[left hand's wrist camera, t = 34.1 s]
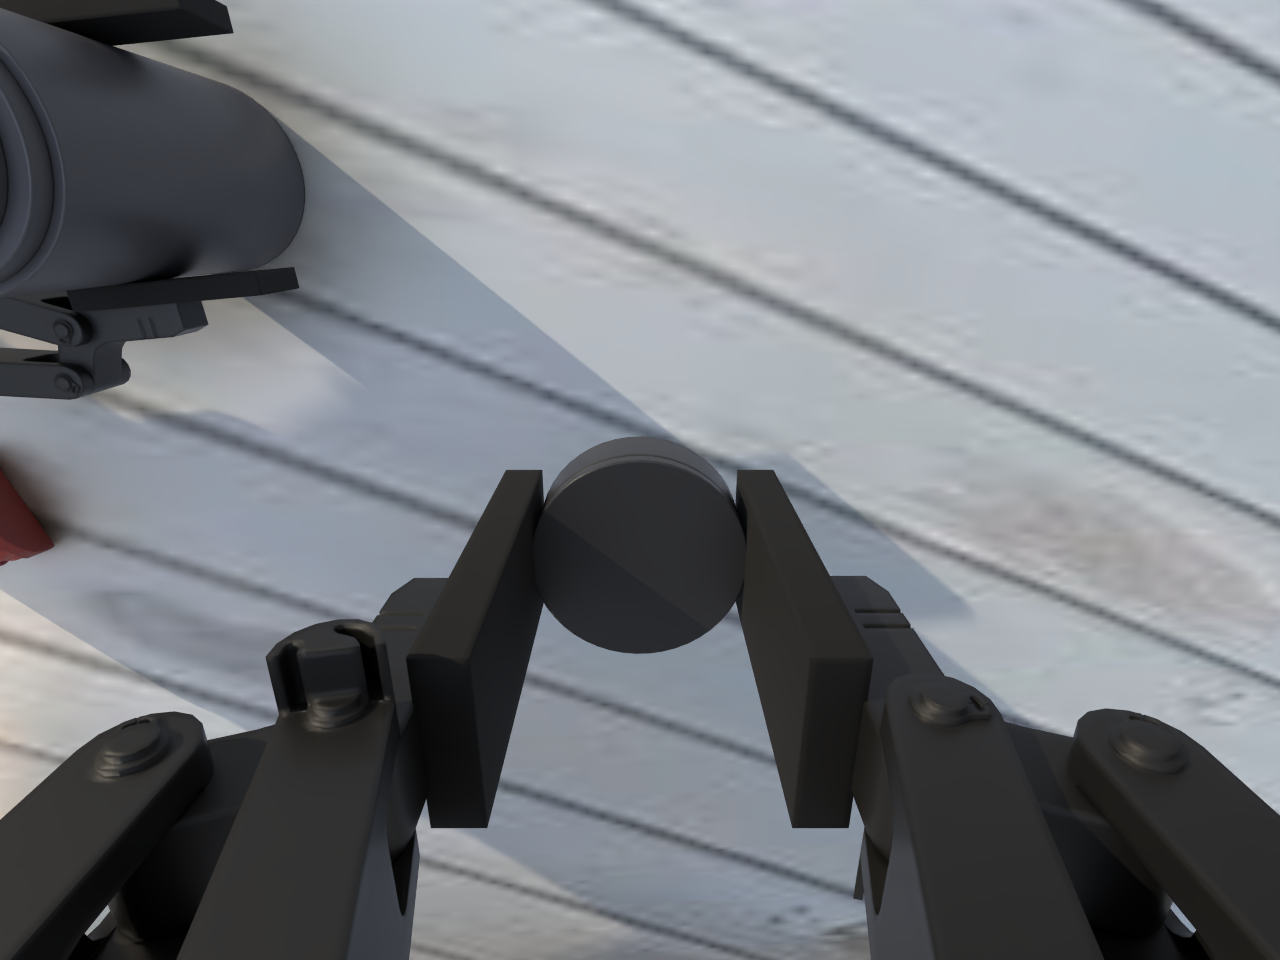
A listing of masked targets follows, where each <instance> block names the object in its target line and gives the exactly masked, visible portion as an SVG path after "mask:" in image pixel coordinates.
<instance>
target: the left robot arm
mask: <svg viewBox="0 0 1280 960" xmlns="http://www.w3.org/2000/svg"><path fill="white" fill-rule="evenodd" d="M543 505H544V495H543V477H542V470H506V471H505V473H504V475H503V477H502V479H501V481H500V483H499V485H498V486H497V488H496V490H495V492H494V494H493V496H492V498H491V500H490V501H489V503H488V505H487V507H486V509H485V511H484V513H483V515H482V516H481V518H480V520H479V522H478V524H477V526H476V528H475V530H474V531H473V533H472V535H471V537H470V539H469V541H468V543H467V545H466V546H465V548H464V550H463V552H462V554H461V556H460V558H459V560H458V561H457V563H456V565H455V567H454V569H453V571H452V573H451V575H450V576H449V578H414V579H412V580H411V581H409V582H408V583H406V584H405V585H403V586H402V587H401V588H399V589H398V590H396V591H395V592H393V593H392V594H391V595H390V597H389V598H388V600H387V601H386V603H385V604H384V606H383V607H382V609H381V610H380V614H379V615H377V616H376V618H375V619H374V621H373V622H372V623H370V622H366V621H362V620H359V619H353V620H333V621H329V622H324V623H319V624H315V625H312V626H309V627H307V628H304V629H302V630H299V631H297V632H294V633H293V634H291V635H290V636H288V637H286V638H285V639H283V640H282V641H280V642H279V643H277V644H276V645H275V646H274V648H273V649H272V650H271V651H270V652H269V653H268V655H267V656H266V661H267V665H268V670H269V674H270V678H271V682H272V686H273V691H274V695H275V699H276V703H277V707H278V712H279V717H278V719H277V721H276V724H275V725H272V726H268V727H264V728H261V729H257V730H253V731H249V732H244V733H239V734H235V735H230V736H225V737H221V738H216V739H211V740H207V738H206V735H205V731H204V728H203V724H202V723H201V722H200V721H199V720H198V719H197V718H195V717H194V716H193V715H191V714H185V713H180V712H165V713H155V714H149V715H146V716H141V717H139V718H134V719H131V720H128V721H125V722H123V723H121V724H119V725H117V726H115V727H113V728H111V729H109V730H107V731H105V732H103V733H101V734H99V735H97V736H96V737H95V738H93V739H92V740H91V741H89V742H88V743H86V744H85V745H84V746H82V747H81V748H80V749H78V750H77V751H76V752H75V753H74V754H72V755H71V756H70V757H69V758H68V759H67V760H66V761H65V762H64V763H63V764H61V765H60V766H59V767H58V768H57V769H56V770H55V771H54V772H53V773H51V774H50V775H49V776H48V777H47V778H46V779H45V780H44V781H43V782H42V783H40V784H39V785H38V786H37V787H36V788H35V789H34V790H33V791H32V792H30V793H29V794H28V795H27V796H26V797H25V798H24V799H23V800H22V801H21V802H19V803H18V804H17V805H16V806H15V807H14V808H13V809H12V810H11V811H10V812H8V813H7V814H6V815H5V816H4V817H3V818H2V819H1V820H0V960H409V954H410V945H411V935H412V926H413V916H414V907H415V897H416V888H417V878H418V869H419V859H420V854H419V847H418V840H417V834H416V825H417V823H418V820H419V817H420V815H421V812H422V809H423V806H424V804H425V801H426V798H427V805H428V812H429V818H430V825H431V828H487V827H488V823H489V819H490V815H491V811H492V807H493V803H494V799H495V795H496V791H497V787H498V783H499V779H500V775H501V771H502V767H503V763H504V759H505V755H506V751H507V747H508V743H509V739H510V735H511V731H512V727H513V723H514V719H515V715H516V711H517V707H518V703H519V699H520V695H521V691H522V687H523V683H524V679H525V675H526V671H527V667H528V663H529V659H530V655H531V651H532V647H533V643H534V639H535V635H536V631H537V627H538V623H539V619H540V615H541V611H542V607H543V603H544V602H543V600H542V598H541V597H540V595H539V592H538V590H537V587H536V582H535V567H534V551H533V535H534V531H535V529H536V526H537V523H538V520H539V517H540V514H541V511H542V508H543ZM735 506H736V509H737V512H738V515H739V518H740V521H741V524H742V527H743V530H744V534H745V537H746V561H745V576H744V583H743V586H742V589H741V591H740V593H739V595H738V597H737V600H736V605H737V609H738V613H739V617H740V621H741V625H742V629H743V633H744V637H745V641H746V645H747V649H748V653H749V657H750V661H751V665H752V669H753V673H754V677H755V681H756V685H757V689H758V693H759V697H760V701H761V705H762V709H763V713H764V717H765V721H766V725H767V729H768V732H769V736H770V740H771V744H772V748H773V752H774V756H775V760H776V764H777V768H778V772H779V776H780V780H781V784H782V788H783V792H784V796H785V800H786V804H787V808H788V812H789V816H790V820H791V824H792V828H849V822H850V815H851V809H852V802H853V796H854V799H855V802H856V804H857V807H858V810H859V812H860V815H861V818H862V820H863V823H864V826H865V827H864V834H863V840H862V846H861V853H860V859H859V865H858V871H857V878H856V884H855V891H854V899H859V900H862V899H863V894H864V896H865V905H866V915H867V924H868V934H869V943H870V953H871V960H1280V815H1278V814H1277V813H1276V812H1275V811H1274V810H1273V809H1272V808H1271V807H1270V806H1268V805H1267V804H1266V803H1265V802H1264V801H1263V800H1262V799H1261V798H1260V797H1258V796H1257V795H1256V794H1255V793H1254V792H1253V791H1252V790H1251V789H1250V788H1248V787H1247V786H1246V785H1245V784H1244V783H1243V782H1242V781H1241V780H1240V779H1238V778H1237V777H1236V776H1235V775H1234V774H1233V773H1232V772H1231V771H1229V770H1228V769H1227V768H1226V767H1225V766H1224V765H1223V764H1222V763H1221V762H1219V761H1218V760H1217V759H1216V758H1215V757H1214V756H1213V755H1212V754H1211V753H1209V752H1208V751H1207V750H1206V749H1205V748H1204V747H1203V746H1201V745H1200V744H1198V743H1197V742H1196V741H1194V740H1193V739H1192V738H1190V737H1189V736H1187V735H1186V734H1185V733H1183V732H1182V731H1180V730H1178V729H1176V728H1174V727H1172V726H1170V725H1168V724H1165V723H1163V722H1161V721H1160V720H1158V719H1155V718H1152V717H1149V716H1147V715H1141V714H1140V713H1135V712H1131V711H1126V710H1116V709H1100V710H1095V711H1089V712H1087V713H1086V714H1085V715H1084V716H1083V717H1081V718H1080V719H1079V720H1078V722H1077V726H1076V729H1075V733H1074V736H1073V737H1068V736H1063V735H1059V734H1054V733H1049V732H1045V731H1040V730H1035V729H1031V728H1026V727H1022V726H1018V725H1015V724H1011V723H1008V722H1005V721H1004V720H1003V718H1002V715H1001V714H1000V712H999V711H998V709H997V708H996V706H995V705H994V704H993V702H992V701H991V700H990V699H989V698H988V697H986V696H985V695H984V694H982V693H981V692H980V691H978V690H977V689H976V688H974V687H972V686H970V685H968V684H966V683H963V682H961V681H959V680H957V679H954V678H951V677H947V676H944V674H943V673H942V671H941V670H940V668H939V667H938V665H937V664H936V662H935V661H934V659H933V658H932V656H931V655H930V653H929V652H928V650H927V649H926V647H925V646H924V644H923V643H922V641H921V640H920V638H919V637H918V635H917V634H916V632H915V631H914V629H913V628H911V627H910V623H909V622H908V620H907V619H906V617H905V616H904V614H903V613H900V608H899V607H898V605H897V604H896V602H895V601H894V599H893V598H892V596H891V595H890V593H889V592H888V591H887V590H885V589H884V588H882V587H881V586H880V585H878V584H877V583H875V582H874V581H872V580H871V579H869V578H868V577H867V576H830V575H829V574H828V572H827V570H826V568H825V566H824V564H823V562H822V560H821V559H820V557H819V555H818V553H817V551H816V549H815V547H814V545H813V544H812V542H811V540H810V538H809V536H808V534H807V532H806V530H805V529H804V527H803V525H802V523H801V521H800V519H799V517H798V515H797V514H796V512H795V510H794V508H793V506H792V504H791V502H790V500H789V498H788V497H787V495H786V493H785V491H784V489H783V487H782V485H781V483H780V482H779V480H778V478H777V476H776V474H775V472H774V470H737V487H736V505H735ZM1172 902H1174V903H1175V904H1176V905H1177V907H1178V908H1179V909H1180V910H1181V912H1182V913H1183V914H1184V915H1185V916H1186V918H1187V919H1188V920H1189V921H1190V923H1191V924H1192V925H1193V926H1194V927H1195V929H1196V931H1195V933H1193V932H1191V931H1190V930H1189V929H1188V928H1187V927H1186V926H1185V925H1184V924H1183V923H1182V922H1181V921H1180V920H1179V919H1178V917H1177V916H1176V915H1175V914H1174V912H1173V911H1172V910H1171V909H1170V907H1171V905H1172ZM107 905H108V906H109V909H110V912H109V913H108V914H107V916H106V917H105V918H104V919H103V921H102V922H101V923H100V924H99V925H98V926H97V927H96V928H95V929H94V930H93V931H92V932H91V933H90V934H89V935H88V936H87V935H85V932H86V931H87V929H88V928H89V927H90V926H91V925H92V923H93V922H94V921H95V920H96V918H97V917H98V916H99V915H100V913H101V912H102V911H103V910H104V909H105V907H106V906H107Z"/></svg>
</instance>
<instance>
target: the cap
mask: <svg viewBox="0 0 1280 960" xmlns="http://www.w3.org/2000/svg"><path fill="white" fill-rule="evenodd" d="M533 551H534V567H535V582H536V587H537V590H538V592H539V595H540V597H541V598H542V600H543V602H544V603H545V605H546V607H547V608H548V609H549V611H550V612H551V613H552V615H553V616H554V617H555V618H556V619H557V620H558V621H559V622H560V623H561V624H562V625H563V626H564V627H565V628H567V629H568V630H569V631H571V632H572V633H573V634H575V635H576V636H578V637H580V638H581V639H583V640H585V641H587V642H589V643H591V644H594V645H596V646H599V647H602V648H605V649H608V650H612V651H618V652H623V653H635V654H640V653H655V652H662V651H666V650H670V649H674V648H677V647H680V646H682V645H685V644H688V643H690V642H692V641H694V640H695V639H697V638H699V637H701V636H702V635H704V634H705V633H707V632H708V631H710V630H711V629H712V628H713V627H714V626H715V625H717V624H718V623H719V622H720V621H721V620H722V619H723V618H724V616H725V615H726V614H727V613H728V612H729V610H730V609H731V607H732V606H733V604H734V603H735V601H736V600H737V597H738V595H739V593H740V591H741V589H742V586H743V583H744V576H745V561H746V537H745V534H744V530H743V527H742V524H741V521H740V518H739V515H738V512H737V509H736V506H735V503H734V500H733V497H732V495H731V492H730V490H729V488H728V486H727V485H726V483H725V481H724V480H723V478H722V477H721V476H720V474H719V473H718V472H717V471H716V470H715V468H714V467H713V466H712V465H711V464H709V463H708V462H707V461H706V460H705V459H704V458H702V457H701V456H699V455H698V454H697V453H695V452H694V451H692V450H690V449H688V448H686V447H684V446H682V445H679V444H676V443H674V442H671V441H667V440H663V439H658V438H651V437H627V438H621V439H615V440H612V441H608V442H605V443H602V444H599V445H597V446H595V447H593V448H590V449H589V450H587V451H585V452H584V453H582V454H580V455H579V456H578V457H576V458H575V459H574V460H573V461H571V462H570V463H569V464H568V465H567V466H566V467H565V468H564V469H563V470H562V471H561V472H560V474H559V475H558V477H557V478H556V479H555V481H554V482H553V484H552V486H551V488H550V490H549V492H548V494H547V497H546V500H545V502H544V505H543V508H542V511H541V514H540V517H539V520H538V523H537V526H536V529H535V531H534V535H533Z"/></svg>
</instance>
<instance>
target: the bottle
mask: <svg viewBox="0 0 1280 960" xmlns="http://www.w3.org/2000/svg"><path fill="white" fill-rule="evenodd" d="M303 209H304V182H303V175H302V171H301V167H300V164H299V161H298V158H297V156H296V153H295V150H294V148H293V146H292V144H291V143H290V141H289V139H288V137H287V136H286V134H285V132H284V131H283V129H282V128H281V126H280V125H279V124H278V123H277V122H276V120H275V119H274V118H273V117H272V116H271V115H270V114H269V113H268V112H267V111H266V110H265V109H264V108H263V107H262V106H261V105H260V104H258V103H257V102H256V101H255V100H253V99H252V98H251V97H249V96H247V95H246V94H244V93H243V92H241V91H239V90H237V89H235V88H233V87H231V86H228V85H225V84H222V83H219V82H217V81H214V80H211V79H208V78H205V77H202V76H199V75H196V74H193V73H190V72H187V71H184V70H181V69H178V68H175V67H172V66H170V65H167V64H164V63H161V62H158V61H155V60H152V59H149V58H146V57H143V56H140V55H137V54H134V53H131V52H128V51H125V50H123V49H120V48H117V47H114V46H111V45H108V44H105V43H102V42H99V41H96V40H93V39H90V38H87V37H84V36H81V35H78V34H76V33H73V32H70V31H67V30H64V29H61V28H58V27H55V26H52V25H49V24H46V23H43V22H40V21H37V20H34V19H31V18H28V17H26V16H23V15H20V14H17V13H14V12H11V11H8V10H5V9H2V8H0V298H6V297H15V296H24V295H32V294H41V293H50V292H58V291H67V290H76V289H84V288H93V287H102V286H110V285H119V284H128V283H136V282H145V281H154V280H162V279H171V278H180V277H188V276H197V275H206V274H214V273H223V272H232V271H240V270H248V269H252V268H256V267H259V266H261V265H264V264H266V263H268V262H270V261H271V260H273V259H274V258H276V257H277V256H278V255H279V254H281V253H282V252H283V251H284V250H285V249H286V248H287V246H288V245H289V244H290V243H291V241H292V239H293V238H294V236H295V234H296V232H297V230H298V228H299V225H300V222H301V219H302V215H303Z"/></svg>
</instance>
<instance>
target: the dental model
mask: <svg viewBox="0 0 1280 960" xmlns="http://www.w3.org/2000/svg"><path fill="white" fill-rule="evenodd" d="M53 547H54V544H53V542H52V541H51V539H50V538H49V536H48V535H47V534H46V532H45V531H44V529H43V528H42V527H41V525H40V524H39V522H38V521H37V520H36V518H35V517H34V515H33V514H32V512H31V511H30V510H29V508H28V507H27V505H26V504H25V503H24V501H23V500H22V498H21V497H20V496H19V494H18V493H17V492H16V490H15V489H14V487H13V486H12V485H11V483H10V482H9V481H8V479H7V478H6V477H5V475H4V474H3V473H2V471H1V470H0V566H2V565H4V564H6V563H7V562H8V561H14V560H18V559H21V558H29V557H32V556H34V555H37V554H39V553H42V552H44V551H47V550H49V549H51V548H53Z"/></svg>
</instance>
